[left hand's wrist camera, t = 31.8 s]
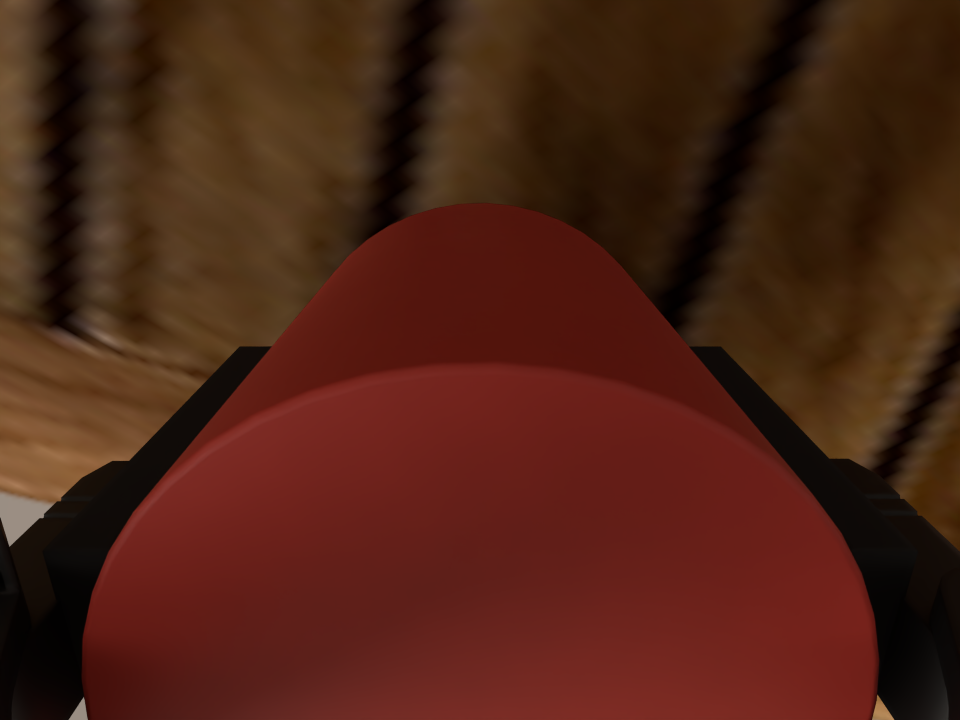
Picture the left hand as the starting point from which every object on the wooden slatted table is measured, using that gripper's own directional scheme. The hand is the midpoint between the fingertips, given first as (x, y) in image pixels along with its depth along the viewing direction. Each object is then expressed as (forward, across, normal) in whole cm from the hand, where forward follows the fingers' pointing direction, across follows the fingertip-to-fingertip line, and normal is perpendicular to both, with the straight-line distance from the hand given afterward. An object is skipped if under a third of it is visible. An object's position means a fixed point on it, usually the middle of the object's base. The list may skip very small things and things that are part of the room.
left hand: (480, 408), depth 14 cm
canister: (+2, 0, 0) cm, 2 cm away
